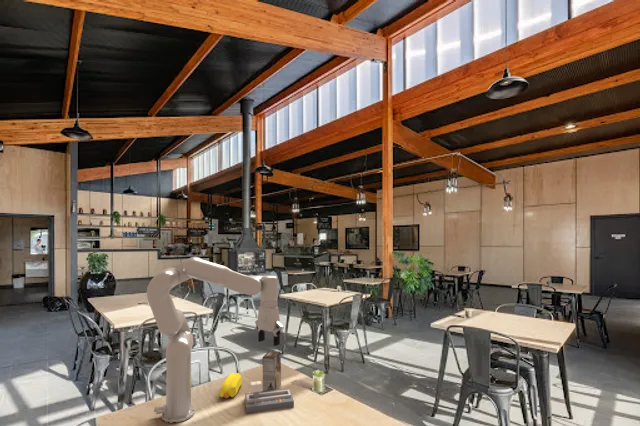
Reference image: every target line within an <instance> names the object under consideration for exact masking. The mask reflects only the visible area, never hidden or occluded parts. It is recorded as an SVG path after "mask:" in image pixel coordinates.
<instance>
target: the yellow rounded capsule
mask: <svg viewBox="0 0 640 426" xmlns="http://www.w3.org/2000/svg"><path fill="white" fill-rule="evenodd" d="M242 384H243V379H242V375H241V374H239V373H238V372H236V373H233V372H232V373H230V374H229V375H228V376H226V378H224V381H223V382H222V385H220V391H219V396H220V397H221V398H224V399H228V398H230V397H231V398H234V397H235V396H236V395H237V394H238V391H239V389H240V387H241V385H242Z"/></svg>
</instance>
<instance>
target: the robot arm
mask: <svg viewBox="0 0 640 426" xmlns="http://www.w3.org/2000/svg"><path fill="white" fill-rule="evenodd" d="M190 279H194V280H198V281H202V282H205V283H209V284H213V285H215V286H219V287H221V288H225V289H228V290H230V291H233V292H237V293H241V294H243V295H247V296H255V295H257V294H260V301H259V303H260V306H259V308H258V313H257V319H256V320H254V323H255V328H256V329H257V330H256V331H257V333H258V342H263V341H265V339H266V337H265V335H266V334H265V333H266V332H270V333H272V334H273V335H274V336H273V346H274V347H277V346H279V345H280V344H281V342H280V341H281V335H282V334H283V331H284V327H285V326H284V325H283V324H282V323H281V321H280V312H279V311H280V310H279V307H278V305H279V304H278V298H279V297H278V294H279V293H278V283H279V282H278V277H277V276H276V275H245V274H242V273H239V272H237V271H234V270H232V269H230V268H229V267H227V266H225V265H222V264H218V263H215V262H212V261H208V260H205V259H203V258H201V257H200V256H192V257H189V258H188V259H185V260H183V261H181V262H179V263H177V264H174V265H172V266H170V267H167V268H165V269H163V270H160V271H159V272H158V273H156V274H155V275H154V276H153V277H152V278H151V280H150V282H149V283H148V286H147V289H146V298H147V301H148V304H149V307H150V310H151V312H152V315H153V317H154V320H155V322H156V326H157V328H158V331H159V332H160V334H161V335H163V336H164V337H167V338H168V341H169V342H168V344H167V346H166V348H165V349H166V351H165V364H166V368H165V369H166V377H165V378H166V380H165V381H166V382H165V383H166V384H165V385H166V388H165V397H166V398H165V404H163V405H161V406H160V405H159V406H154V410H153V411H154V413H156V415H158V414H159V415H160V414H161V420H162V421H163V420H164V421H165V422H164V421H163V422H164V423H168V422H169V423H170V424H174V423H173V422H176V423H181V422H184V421H186V420H189V419H190V418H191V417H193V416H194V414H195V412H196V411H195V410H196V409H195V407H194V406H192V348H193V346H194V336H193V333H192V331H191V328H190V326H189V323H188V321H187V318H186V316H185V314H184V312H183V311H181V309H178V308H176V306H175V304H174V301H173V299H172V297H171V295H170V291H172V289H173V288H175V287H176V286H177V285H179V284H182V283H184V282H187V281H188V280H190ZM169 423H168V424H169Z"/></svg>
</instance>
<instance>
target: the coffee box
mask: <svg viewBox="0 0 640 426" xmlns="http://www.w3.org/2000/svg"><path fill="white" fill-rule="evenodd" d="M281 352H282V351H277V350H274V351H273V350H271V351H270V350H268V351H267V353H265V354H264V355H263V356H262V391H270V390H278V389H280V386H281V385H282V359H281V358H282V353H281Z"/></svg>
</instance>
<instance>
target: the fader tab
mask: <svg viewBox="0 0 640 426" xmlns="http://www.w3.org/2000/svg"><path fill="white" fill-rule="evenodd" d="M262 391H263V383H262V381H261V380H258V381H256V380H254V381H250V393H253V399H255V398H259V392H262Z"/></svg>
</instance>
